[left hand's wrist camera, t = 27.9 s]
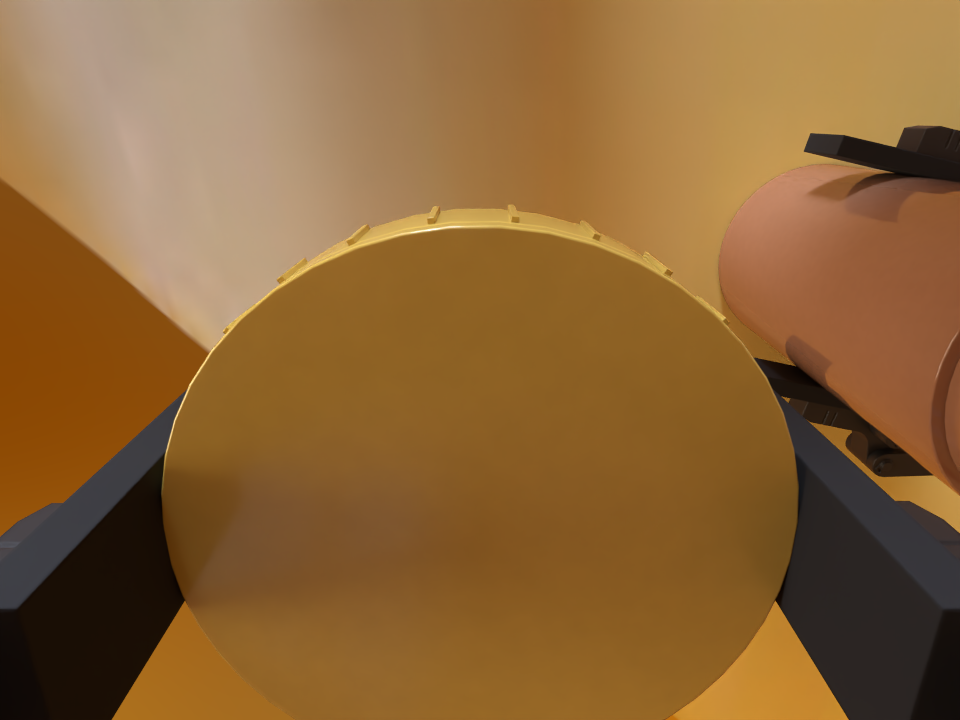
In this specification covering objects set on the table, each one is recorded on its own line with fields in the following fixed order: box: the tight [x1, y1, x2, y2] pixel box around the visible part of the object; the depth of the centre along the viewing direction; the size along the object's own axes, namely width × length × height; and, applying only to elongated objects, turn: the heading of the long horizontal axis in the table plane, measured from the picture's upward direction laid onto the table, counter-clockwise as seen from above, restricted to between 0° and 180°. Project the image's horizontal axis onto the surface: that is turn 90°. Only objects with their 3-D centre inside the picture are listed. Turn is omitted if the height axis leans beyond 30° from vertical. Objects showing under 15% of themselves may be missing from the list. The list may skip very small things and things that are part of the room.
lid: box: [161, 205, 799, 720], centre depth 11 cm, size 10×10×2 cm
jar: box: [719, 164, 960, 496], centre depth 25 cm, size 9×9×19 cm
